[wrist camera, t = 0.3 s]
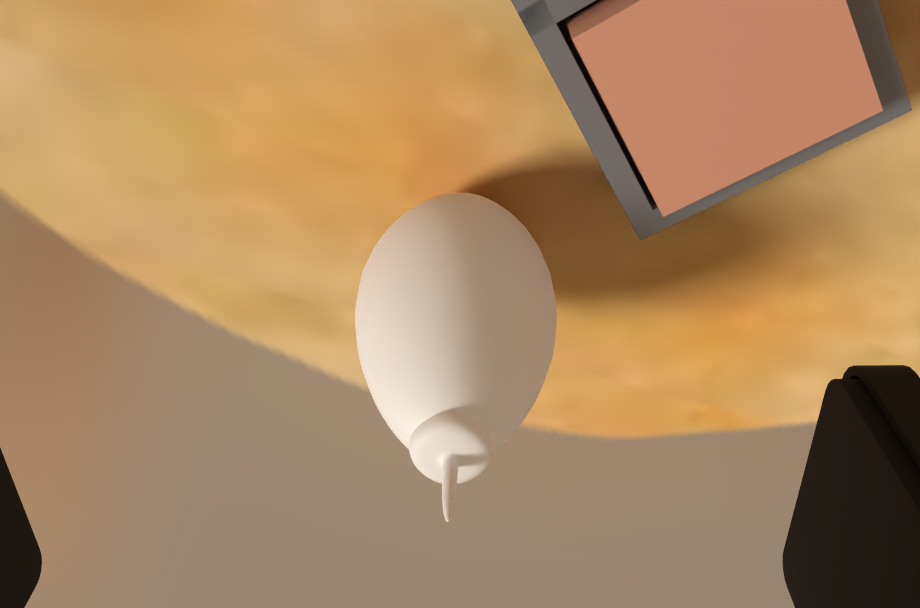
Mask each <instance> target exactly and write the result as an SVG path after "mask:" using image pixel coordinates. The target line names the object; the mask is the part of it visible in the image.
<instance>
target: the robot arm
mask: <svg viewBox="0 0 920 608" xmlns="http://www.w3.org/2000/svg"><path fill="white" fill-rule="evenodd" d="M41 565H42V557H41V552H40V548H39V546H38V543H37V541H36V539H35V536H34V533H33V531H32V528H31V525H30V523H29V520H28V518H27V515H26V513H25V510H24V508H23V505H22V502H21V500H20V497H19V495H18V492H17V490H16V487H15V485H14V482H13V479H12V477H11V474H10V472H9V469H8V466H7V464H6V461H5V459H4V456H3V454H2V451H1V449H0V608H24V607H25V605H26V604H27V602H28V600H29V598H30V596H31V594H32V592H33V591H34V589H35V587H36V585H37V583H38V580H39V577H40V573H41ZM783 572H784V577H785V581H786V584H787V588H788V590H789V593H790V596H791V598H792V601H793V603H794V606H795V608H920V378H919V376H918V375H917V374H916V372H915V371H913V370H912V369H911V368H910V367H908V366H904V365H878V366H852V367H849V368H848V369H847V370H846V372H845V373H844V375H843V378H842V379H834V380H831V381H830V382H829V384H828V386H827V388H826V391H825V395H824V398H823V402H822V406H821V410H820V414H819V418H818V421H817V425H816V429H815V433H814V437H813V440H812V444H811V448H810V452H809V456H808V459H807V463H806V467H805V471H804V475H803V479H802V482H801V486H800V490H799V494H798V498H797V501H796V505H795V509H794V513H793V517H792V521H791V524H790V528H789V532H788V536H787V540H786V544H785V548H784V552H783Z"/></svg>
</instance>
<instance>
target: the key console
mask: <svg viewBox="0 0 920 608" xmlns="http://www.w3.org/2000/svg"><path fill="white" fill-rule="evenodd" d="M511 1H512V3H513V5H514V7H515V9H516V11H517V12H518V14H519V16H520V18H521V20H522V22H523V24H524V25H525V27H526V29H527V31H528V33H529V35H530V37H531V38H532V40H533V42H534V44H535V46H536V48H537V50H538V51H539V53H540V55H541V57H542V59H543V61H544V63H545V65H546V66H547V68H548V70H549V72H550V74H551V76H552V78H553V79H554V81H555V83H556V85H557V87H558V89H559V91H560V92H561V94H562V96H563V98H564V100H565V102H566V104H567V105H568V107H569V109H570V111H571V113H572V115H573V117H574V118H575V120H576V122H577V124H578V126H579V128H580V130H581V131H582V133H583V135H584V137H585V139H586V141H587V143H588V144H589V146H590V148H591V150H592V152H593V154H594V156H595V157H596V159H597V161H598V163H599V165H600V167H601V169H602V171H603V172H604V174H605V176H606V178H607V180H608V182H609V184H610V185H611V187H612V189H613V191H614V193H615V195H616V197H617V198H618V200H619V202H620V204H621V206H622V208H623V210H624V211H625V213H626V215H627V217H628V219H629V221H630V223H631V224H632V226H633V228H634V230H635V232H636V234H637V236H638V237H639V239H640V240H642V239H644V238H646V237H648V236H651V235H653V234H655V233H657V232H659V231H661V230H663V229H665V228H667V227H669V226H671V225H674V224H676V223H678V222H680V221H682V220H684V219H686V218H688V217H690V216H692V215H694V214H696V213H699V212H701V211H703V210H705V209H707V208H709V207H711V206H713V205H715V204H717V203H719V202H722V201H724V200H726V199H728V198H730V197H732V196H734V195H736V194H738V193H740V192H742V191H745V190H747V189H749V188H751V187H753V186H755V185H757V184H759V183H761V182H763V181H765V180H768V179H770V178H772V177H774V176H776V175H778V174H780V173H782V172H784V171H786V170H788V169H790V168H793V167H795V166H797V165H799V164H801V163H803V162H805V161H807V160H809V159H811V158H813V157H816V156H818V155H820V154H822V153H824V152H826V151H828V150H830V149H832V148H834V147H836V146H839V145H841V144H843V143H845V142H847V141H849V140H851V139H853V138H855V137H857V136H859V135H862V134H864V133H866V132H868V131H870V130H872V129H874V128H876V127H878V126H880V125H882V124H884V123H887V122H889V121H891V120H893V119H895V118H897V117H899V116H901V115H903V114H905V113H907V112H910V111H912V107H911V104H910V101H909V98H908V95H907V92H906V89H905V86H904V82H903V79H902V76H901V73H900V70H899V67H898V64H897V60H896V57H895V54H894V51H893V48H892V45H891V42H890V39H889V35H888V32H887V29H886V26H885V23H884V20H883V17H882V13H881V10H880V7H879V4H878V1H877V0H846V2H847V5H848V8H849V11H850V14H851V17H852V20H853V23H854V26H855V29H856V32H857V35H858V38H859V40H860V43H861V46H862V49H863V52H864V55H865V58H866V61H867V64H868V67H869V70H870V73H871V76H872V79H873V82H874V85H875V88H876V91H877V94H878V97H879V100H880V103H881V106H882V109H883V111H882V112H880V113H877V114H875V115H873V116H871V117H869V118H867V119H865V120H863V121H861V122H859V123H857V124H855V125H853V126H851V127H848V128H846V129H844V130H842V131H840V132H838V133H836V134H834V135H832V136H830V137H828V138H826V139H824V140H822V141H820V142H817V143H815V144H813V145H811V146H809V147H807V148H805V149H803V150H801V151H799V152H797V153H795V154H793V155H791V156H788V157H786V158H784V159H782V160H780V161H778V162H776V163H774V164H772V165H770V166H768V167H766V168H764V169H762V170H760V171H757V172H755V173H753V174H751V175H749V176H747V177H745V178H743V179H741V180H739V181H737V182H735V183H733V184H731V185H728V186H726V187H724V188H722V189H720V190H718V191H716V192H714V193H712V194H710V195H708V196H706V197H704V198H702V199H699V200H697V201H695V202H693V203H691V204H689V205H687V206H685V207H683V208H681V209H679V210H677V211H675V212H673V213H671V214H668V215H666V216H664V217H663V216H662V214H661V212H660V210H659V208H658V206H657V204H656V202H655V200H654V198H653V196H652V194H651V192H650V190H649V189H648V187H647V185H646V183H645V181H644V179H643V177H642V175H641V173H640V171H639V169H638V167H637V165H636V163H635V161H634V159H633V157H632V155H631V153H630V151H629V150H628V148H627V146H626V144H625V142H624V140H623V138H622V136H621V134H620V132H619V130H618V128H617V126H616V124H615V122H614V120H613V118H612V116H611V114H610V113H609V111H608V109H607V107H606V105H605V103H604V101H603V99H602V97H601V95H600V93H599V91H598V89H597V87H596V85H595V83H594V81H593V79H592V77H591V76H590V74H589V72H588V70H587V68H586V66H585V64H584V62H583V60H582V58H581V56H580V54H579V52H578V50H577V48H576V46H575V44H574V42H573V40H572V38H571V35H570V32H569V29H568V26H567V23H566V20H567V19H569V18H571V17H573V16H574V15H576V14H578V13H579V12H581V11H583V10H585V9H586V8H588V7H590V6H592V5H593V4H595V3H597V2H599V1H600V0H511Z"/></svg>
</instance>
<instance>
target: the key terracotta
mask: <svg viewBox="0 0 920 608" xmlns="http://www.w3.org/2000/svg"><path fill="white" fill-rule="evenodd" d="M566 23H567V26H568V29H569V32H570V35H571V38H572V40H573V42H574V44H575V46H576V48H577V50H578V52H579V54H580V56H581V58H582V60H583V62H584V64H585V66H586V68H587V70H588V72H589V74H590V76H591V77H592V79H593V81H594V83H595V85H596V87H597V89H598V91H599V93H600V95H601V97H602V99H603V101H604V103H605V105H606V107H607V109H608V111H609V113H610V114H611V116H612V118H613V120H614V122H615V124H616V126H617V128H618V130H619V132H620V134H621V136H622V138H623V140H624V142H625V144H626V146H627V148H628V150H629V151H630V153H631V155H632V157H633V159H634V161H635V163H636V165H637V167H638V169H639V171H640V173H641V175H642V177H643V179H644V181H645V183H646V185H647V187H648V189H649V190H650V192H651V194H652V196H653V198H654V200H655V202H656V204H657V206H658V208H659V210H660V212H661V214H662V216H663V217H664V216H666V215H668V214H671V213H673V212H675V211H677V210H679V209H681V208H683V207H685V206H687V205H689V204H691V203H693V202H695V201H697V200H699V199H702V198H704V197H706V196H708V195H710V194H712V193H714V192H716V191H718V190H720V189H722V188H724V187H726V186H728V185H731V184H733V183H735V182H737V181H739V180H741V179H743V178H745V177H747V176H749V175H751V174H753V173H755V172H757V171H760V170H762V169H764V168H766V167H768V166H770V165H772V164H774V163H776V162H778V161H780V160H782V159H784V158H786V157H788V156H791V155H793V154H795V153H797V152H799V151H801V150H803V149H805V148H807V147H809V146H811V145H813V144H815V143H817V142H820V141H822V140H824V139H826V138H828V137H830V136H832V135H834V134H836V133H838V132H840V131H842V130H844V129H846V128H848V127H851V126H853V125H855V124H857V123H859V122H861V121H863V120H865V119H867V118H869V117H871V116H873V115H875V114H877V113H880V112H882V111H883V109H882V106H881V103H880V100H879V97H878V94H877V91H876V88H875V85H874V82H873V79H872V76H871V73H870V70H869V67H868V64H867V61H866V58H865V55H864V52H863V49H862V46H861V43H860V40H859V38H858V35H857V32H856V29H855V26H854V23H853V20H852V17H851V14H850V11H849V8H848V5H847V2H846V0H600V1H599V2H597V3H595V4H593V5H592V6H590V7H588V8H586V9H585V10H583V11H581V12H579V13H578V14H576V15H574V16H573V17H571V18H569V19H567V20H566Z"/></svg>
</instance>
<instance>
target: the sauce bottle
mask: <svg viewBox="0 0 920 608" xmlns="http://www.w3.org/2000/svg"><path fill="white" fill-rule="evenodd" d="M556 318H557V312H556V300H555V294H554V289H553V284H552V279H551V275H550V272H549V269H548V266H547V264H546V262H545V260H544V257H543V255H542V253H541V251H540V248H539V246H538V245H537V243H536V242H535V240H534V239H533V237H532V236H531V235H530V233H529V232H528V230H527V229H526V228H525V226H524V225H523V224H522V223H521V222H520V221H519V220H518V219H517V218H516V217H515V216H514V215H513V214H512V213H510V212H509V211H508V210H506V209H505V208H503V207H502V206H500V205H499V204H498V203H496V202H494V201H492V200H489V199H487V198H485V197H483V196H480V195H476V194H471V193H448V194H443V195H438V196H436V197H433V198H431V199H428V200H426V201H423V202H421V203H420V204H418V205H416V206H415V207H413V208H411V209H410V210H408V211H407V212H406V213H404V214H403V215H402V216H401V217H400V218H399V219H397V220H396V221H395V222H394V223H393V224H392V225H391V226H390V227H389V228H388V230H387V231H386V232H385V233H384V235H383V236H382V237H381V238H380V240H379V241H378V242H377V244H376V246H375V247H374V249H373V251H372V253H371V255H370V257H369V259H368V261H367V263H366V266H365V268H364V271H363V274H362V277H361V282H360V286H359V291H358V296H357V301H356V310H355V324H356V337H357V347H358V354H359V359H360V363H361V367H362V370H363V373H364V376H365V379H366V381H367V384H368V387H369V390H370V392H371V395H372V397H373V399H374V401H375V404H376V406H377V407H378V409H379V411H380V413H381V415H382V416H383V418H384V419H385V421H386V423H387V424H388V425H389V427H390V429H391V430H392V432H393V433H394V434H395V435H396V436H397V437H398V439H399V440H400V441H401V442H402V443H403V444H404V445H405V446H406V447H407V448H408V449H409V451H410V456H411V459H412V461H413V463H414V464H415V466H416V467H417V469H418V470H419V471H420V472H421V473H423V474H424V475H425V476H427V477H428V478H430V479H432V480H434V481H436V482H439V483H442V501H443V512H444V517H445V519H446V521H447V522H449V521H450V520H451V518H452V515H453V510H454V505H455V497H456V487H457V483H462V482H465V481H468V480H470V479H472V478H474V477H476V476H477V475H479V474H480V473H481V472H482V471H483V470H484V469H485V468H486V467H487V465H488V464H489V462H490V460H491V457H492V453H493V452H494V451H496V450H497V449H498V448H499V447H500V446H501V445H502V444H504V443H505V441H507V440H508V439H509V438H510V437H511V436H512V435H513V433H514V432H515V431H516V430H517V428H518V427H519V426H520V424H521V423H522V421H523V420H524V419H525V417H526V416H527V414H528V412H529V411H530V409H531V408H532V406H533V404H534V402H535V401H536V399H537V397H538V395H539V392H540V390H541V388H542V385H543V383H544V380H545V377H546V374H547V372H548V369H549V366H550V363H551V359H552V355H553V351H554V345H555V334H556Z"/></svg>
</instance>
